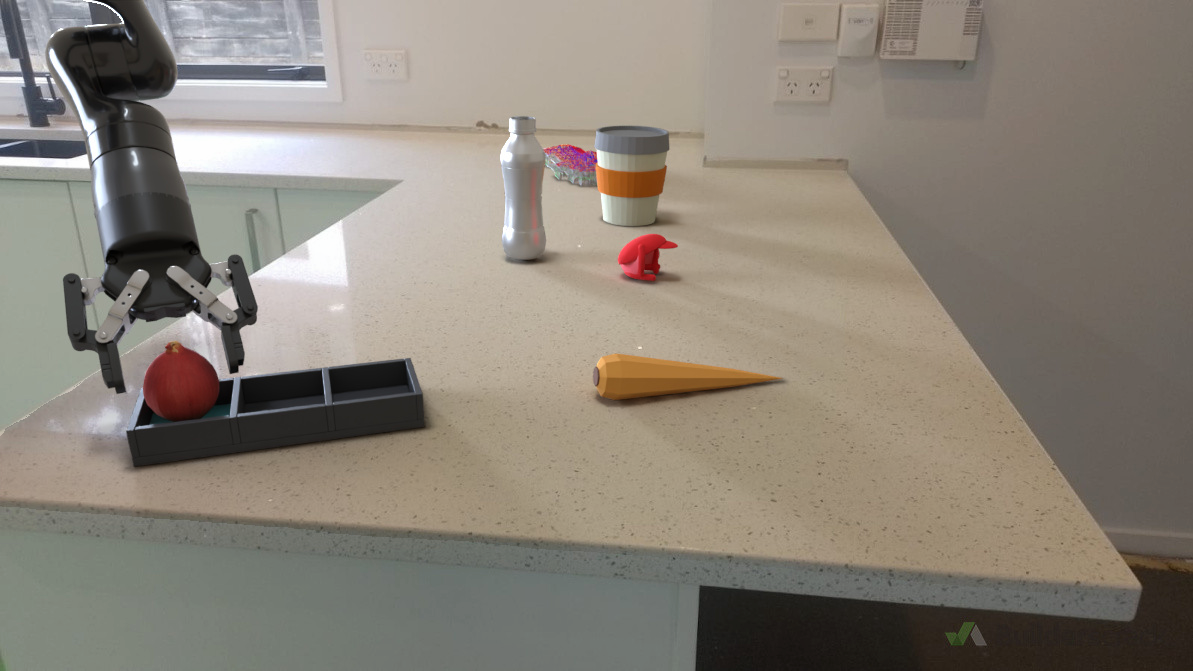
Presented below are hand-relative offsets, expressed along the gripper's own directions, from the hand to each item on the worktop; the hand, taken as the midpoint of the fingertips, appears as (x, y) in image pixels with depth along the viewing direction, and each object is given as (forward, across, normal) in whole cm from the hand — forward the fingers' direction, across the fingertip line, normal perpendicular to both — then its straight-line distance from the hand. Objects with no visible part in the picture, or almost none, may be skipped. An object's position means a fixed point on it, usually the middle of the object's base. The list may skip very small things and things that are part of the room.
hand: (179, 379), depth 69 cm
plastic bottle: (-21, +48, +30) cm, 60 cm away
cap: (-10, +60, +19) cm, 63 cm away
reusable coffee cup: (-30, +74, +38) cm, 89 cm away
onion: (+3, 0, +5) cm, 5 cm away
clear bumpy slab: (-57, +86, +65) cm, 122 cm away
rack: (+4, +8, +4) cm, 10 cm away
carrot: (+12, +44, -4) cm, 46 cm away
